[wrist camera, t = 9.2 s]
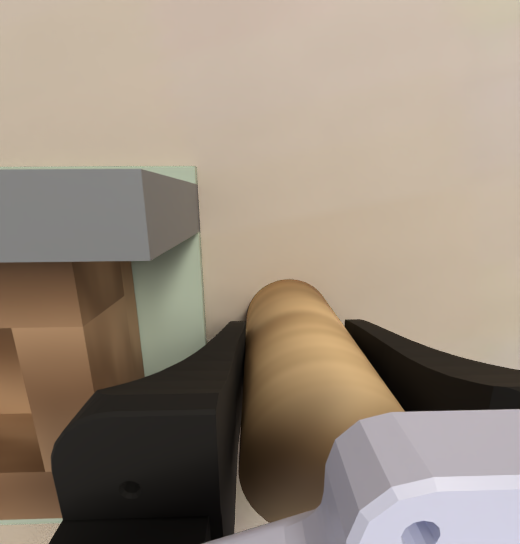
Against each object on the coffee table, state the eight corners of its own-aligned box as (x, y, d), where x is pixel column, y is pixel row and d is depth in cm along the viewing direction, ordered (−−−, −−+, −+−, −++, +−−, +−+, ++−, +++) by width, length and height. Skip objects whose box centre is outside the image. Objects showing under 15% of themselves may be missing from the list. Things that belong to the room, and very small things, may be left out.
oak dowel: (326, 355, 14) (411, 534, 7) (247, 356, 14) (240, 540, 7) (331, 279, 14) (436, 386, 6) (245, 279, 13) (236, 389, 6)
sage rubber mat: (216, 511, 17) (215, 518, 16) (-64, 519, 16) (-72, 527, 16) (196, 167, 12) (194, 166, 12) (-195, 168, 12) (-210, 168, 11)
